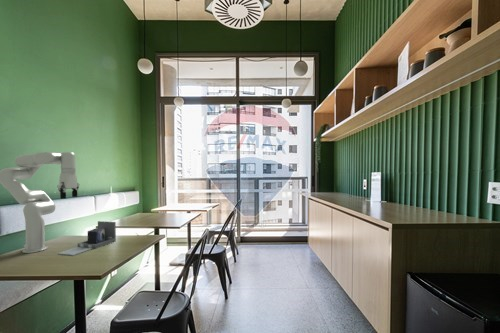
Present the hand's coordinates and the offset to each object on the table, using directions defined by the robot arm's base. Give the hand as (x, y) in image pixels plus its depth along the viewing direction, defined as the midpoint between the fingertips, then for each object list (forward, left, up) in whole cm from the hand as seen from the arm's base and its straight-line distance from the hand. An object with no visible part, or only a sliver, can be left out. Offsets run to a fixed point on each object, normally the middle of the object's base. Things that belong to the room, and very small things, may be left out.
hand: (69, 197), depth 159 cm
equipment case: (+5, +16, -34) cm, 38 cm away
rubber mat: (+5, 0, -34) cm, 35 cm away
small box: (+5, +16, -35) cm, 38 cm away
